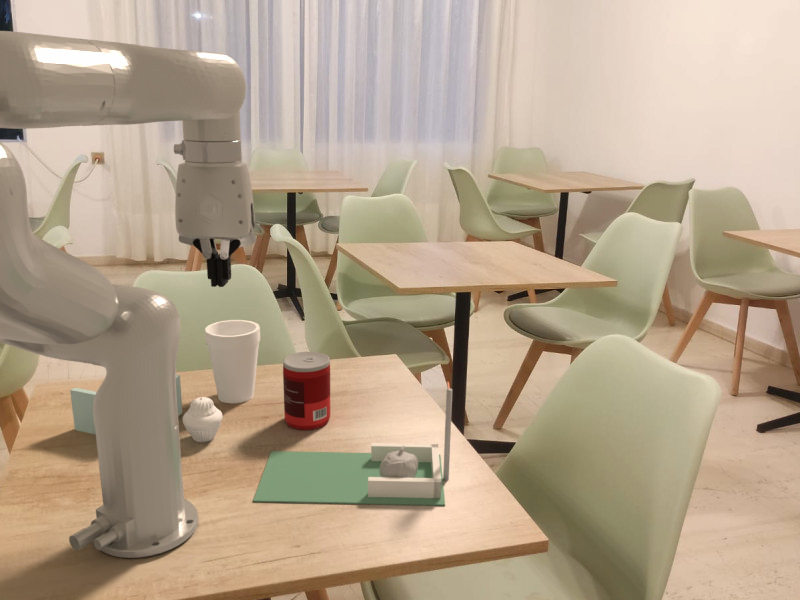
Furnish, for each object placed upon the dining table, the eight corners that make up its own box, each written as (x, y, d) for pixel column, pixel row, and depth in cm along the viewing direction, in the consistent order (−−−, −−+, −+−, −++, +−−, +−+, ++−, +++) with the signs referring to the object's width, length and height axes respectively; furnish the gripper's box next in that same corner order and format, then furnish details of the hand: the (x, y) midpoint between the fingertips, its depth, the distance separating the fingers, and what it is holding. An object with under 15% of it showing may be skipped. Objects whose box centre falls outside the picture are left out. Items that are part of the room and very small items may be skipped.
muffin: (183, 431, 119) (180, 391, 117) (221, 427, 121) (219, 388, 119) (184, 449, 113) (181, 407, 111) (225, 444, 115) (223, 403, 113)
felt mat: (253, 501, 100) (253, 500, 99) (271, 452, 113) (271, 451, 113) (444, 505, 99) (445, 504, 99) (440, 455, 113) (440, 454, 113)
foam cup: (221, 384, 138) (217, 318, 134) (268, 387, 137) (266, 321, 133) (201, 405, 129) (196, 335, 125) (251, 408, 128) (248, 338, 124)
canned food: (334, 411, 127) (334, 352, 124) (325, 432, 120) (324, 369, 117) (291, 409, 128) (289, 349, 125) (279, 429, 120) (277, 367, 117)
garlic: (400, 468, 109) (401, 436, 107) (426, 482, 105) (427, 449, 103) (370, 482, 105) (370, 449, 103) (396, 497, 101) (397, 463, 99)
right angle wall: (182, 415, 126) (179, 375, 124) (135, 446, 115) (131, 402, 113) (126, 404, 130) (122, 364, 128) (75, 432, 119) (70, 389, 117)
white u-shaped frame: (368, 498, 101) (368, 404, 97) (371, 458, 111) (372, 373, 108) (450, 499, 101) (454, 406, 97) (446, 460, 111) (450, 374, 108)
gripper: (148, 154, 96) (158, 289, 101) (261, 157, 96) (266, 293, 101) (168, 150, 103) (177, 276, 108) (273, 152, 103) (277, 279, 108)
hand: (219, 284), depth 105 cm, fingers closed
